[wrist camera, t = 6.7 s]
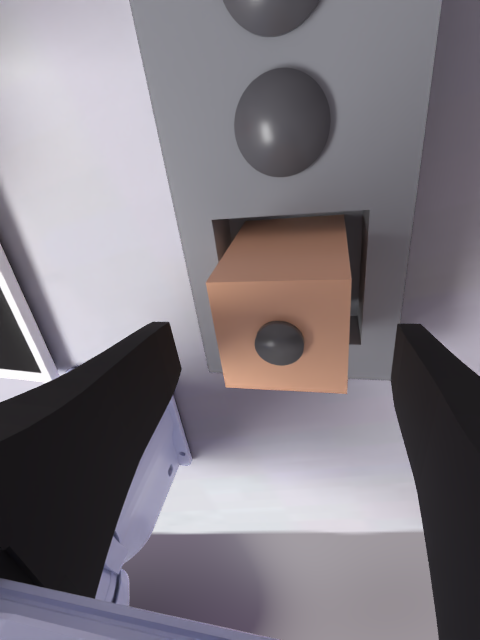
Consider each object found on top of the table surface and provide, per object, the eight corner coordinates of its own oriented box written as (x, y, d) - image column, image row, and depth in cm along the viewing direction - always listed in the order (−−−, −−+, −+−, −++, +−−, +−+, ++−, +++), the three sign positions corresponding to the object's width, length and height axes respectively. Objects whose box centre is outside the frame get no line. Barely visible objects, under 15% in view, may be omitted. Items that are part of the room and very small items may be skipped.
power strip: (383, 337, 19) (393, 383, 16) (225, 334, 22) (208, 374, 19) (436, -179, 10) (482, -294, 7) (151, -94, 12) (93, -154, 9)
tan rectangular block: (341, 302, 18) (347, 399, 12) (255, 303, 19) (223, 393, 13) (343, 214, 16) (352, 284, 10) (245, 221, 17) (202, 287, 11)
